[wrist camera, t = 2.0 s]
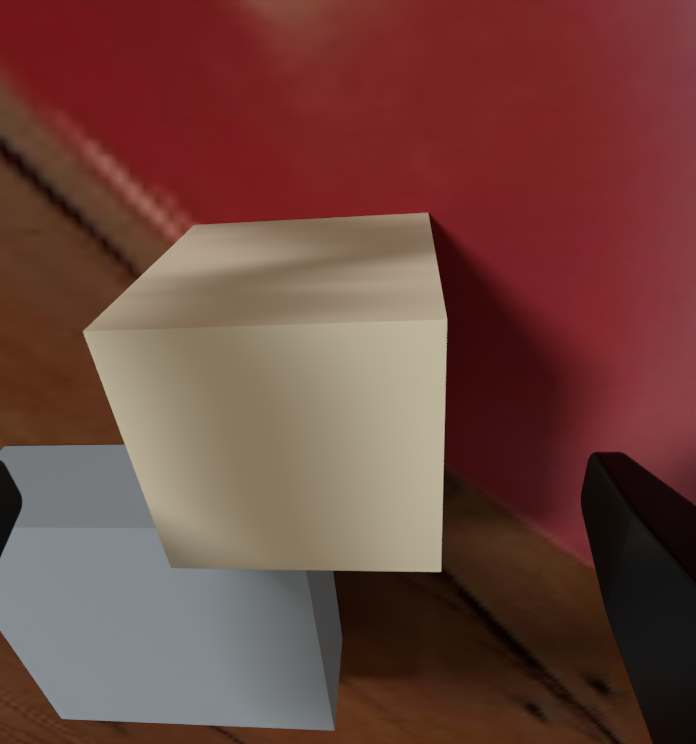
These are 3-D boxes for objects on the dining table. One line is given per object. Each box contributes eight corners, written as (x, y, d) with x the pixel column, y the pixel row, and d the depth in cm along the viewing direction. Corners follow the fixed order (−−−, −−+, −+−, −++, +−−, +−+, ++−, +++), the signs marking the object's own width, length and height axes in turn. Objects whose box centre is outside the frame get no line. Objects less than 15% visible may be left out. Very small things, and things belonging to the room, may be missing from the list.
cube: (428, 211, 11) (447, 319, 7) (427, 407, 14) (440, 572, 10) (195, 224, 12) (82, 331, 8) (237, 410, 14) (171, 568, 10)
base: (314, 442, 15) (298, 528, 12) (342, 639, 19) (334, 730, 17) (5, 446, 16) (-72, 526, 13) (103, 632, 20) (61, 718, 18)
